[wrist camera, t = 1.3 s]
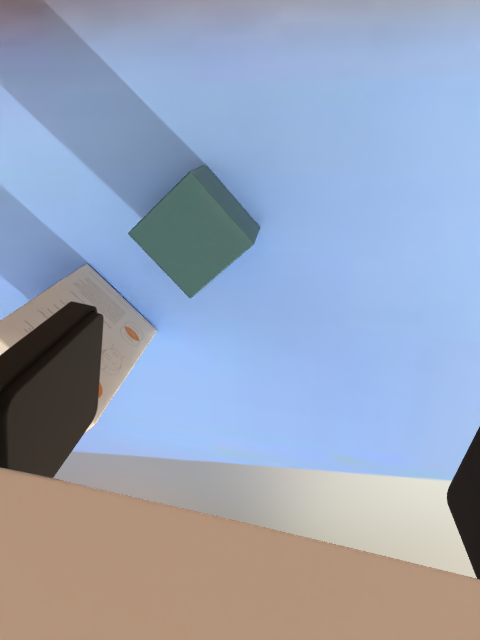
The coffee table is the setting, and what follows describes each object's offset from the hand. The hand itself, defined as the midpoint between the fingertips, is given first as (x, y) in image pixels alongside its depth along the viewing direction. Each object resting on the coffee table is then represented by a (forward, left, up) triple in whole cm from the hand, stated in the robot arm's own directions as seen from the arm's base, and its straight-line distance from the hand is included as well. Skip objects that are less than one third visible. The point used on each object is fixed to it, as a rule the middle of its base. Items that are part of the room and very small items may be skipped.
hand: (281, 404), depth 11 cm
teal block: (-4, -5, -24) cm, 25 cm away
